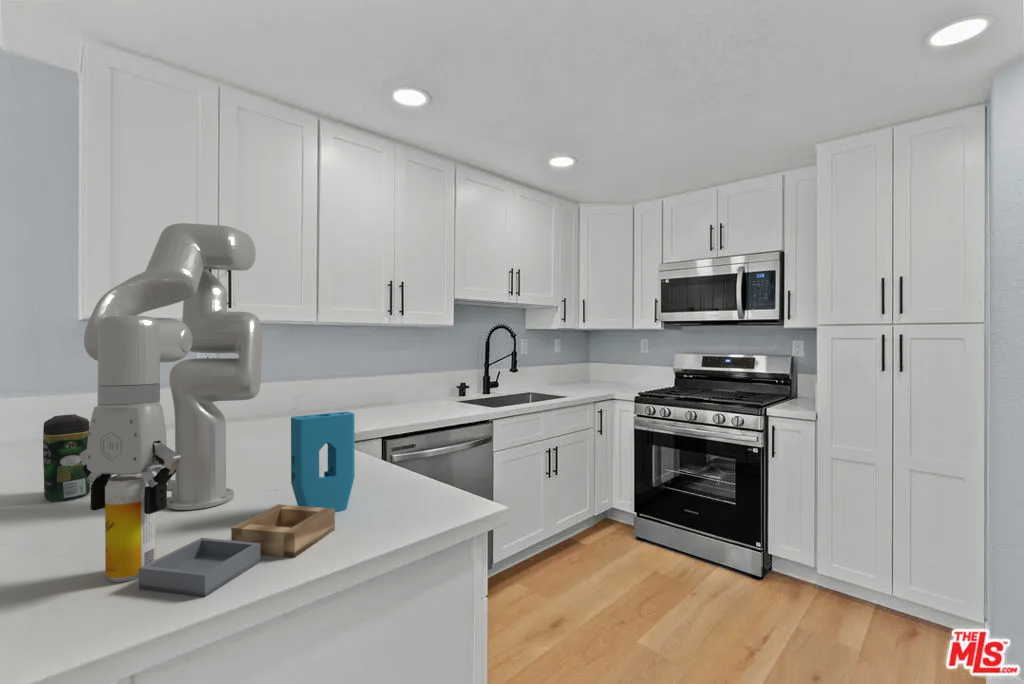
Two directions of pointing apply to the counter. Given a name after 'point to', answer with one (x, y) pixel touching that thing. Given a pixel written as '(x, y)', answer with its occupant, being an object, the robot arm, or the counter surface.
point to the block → (305, 448)
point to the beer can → (127, 528)
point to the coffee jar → (65, 457)
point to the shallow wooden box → (286, 529)
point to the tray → (199, 567)
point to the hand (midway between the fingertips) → (128, 509)
